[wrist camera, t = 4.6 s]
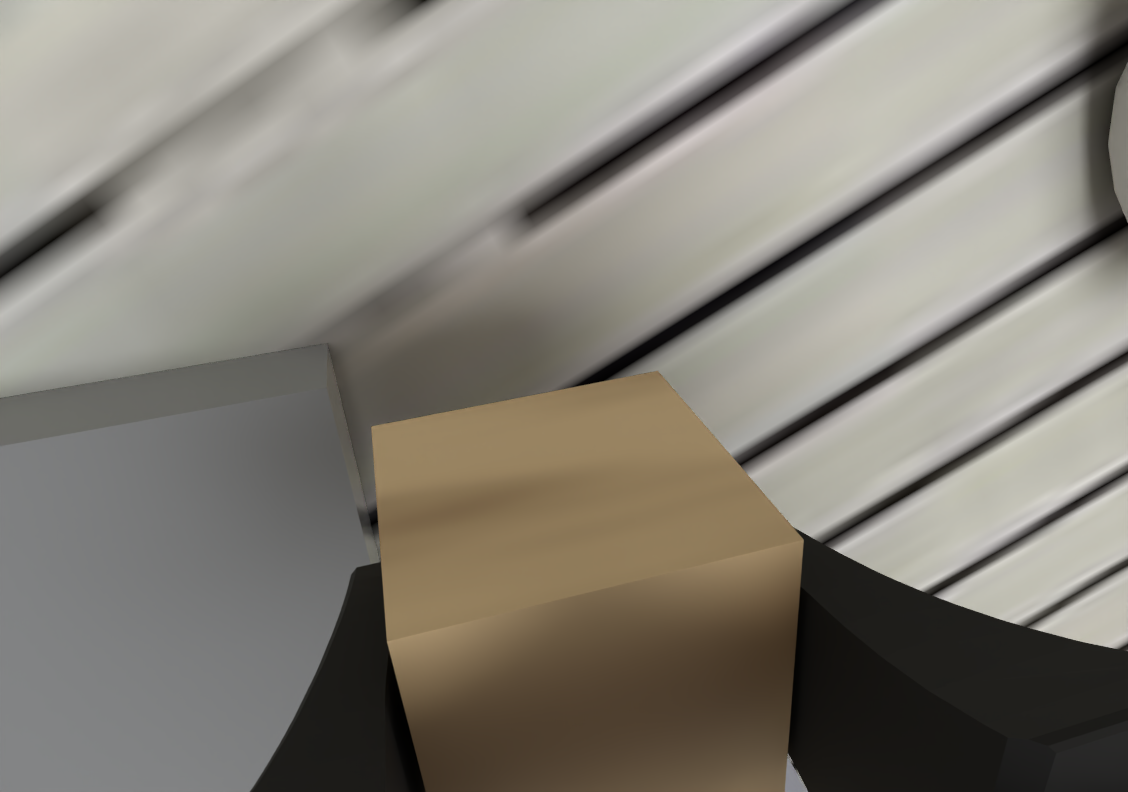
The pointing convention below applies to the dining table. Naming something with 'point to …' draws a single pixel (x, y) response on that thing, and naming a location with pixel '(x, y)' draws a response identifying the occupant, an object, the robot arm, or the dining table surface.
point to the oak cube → (586, 596)
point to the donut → (1120, 141)
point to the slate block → (171, 571)
